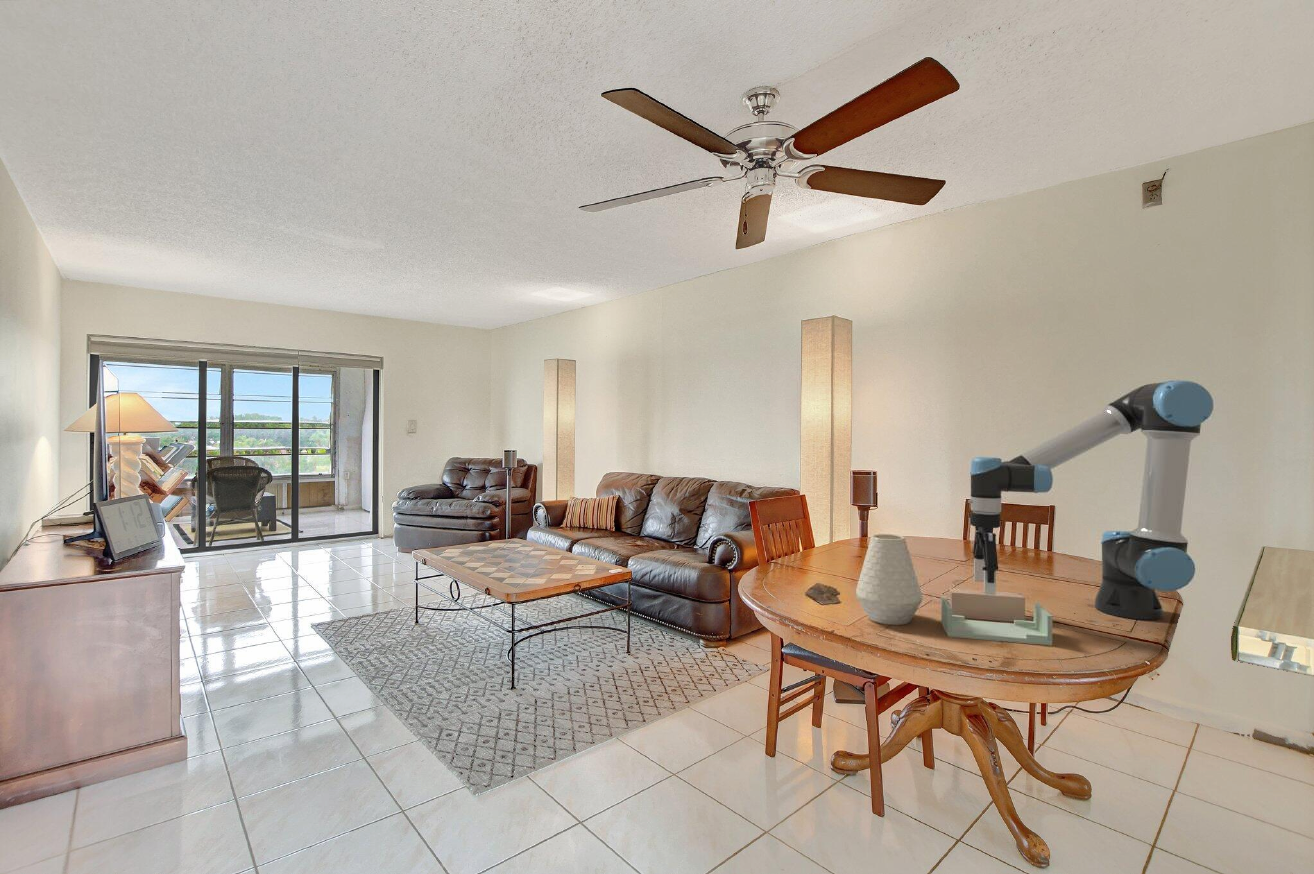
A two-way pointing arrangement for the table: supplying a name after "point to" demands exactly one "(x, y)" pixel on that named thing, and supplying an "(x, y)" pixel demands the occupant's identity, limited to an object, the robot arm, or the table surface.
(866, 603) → the vase
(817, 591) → the wooden fragment
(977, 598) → the pinkish tan rectangular block
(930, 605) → the table surface
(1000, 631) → the tray
